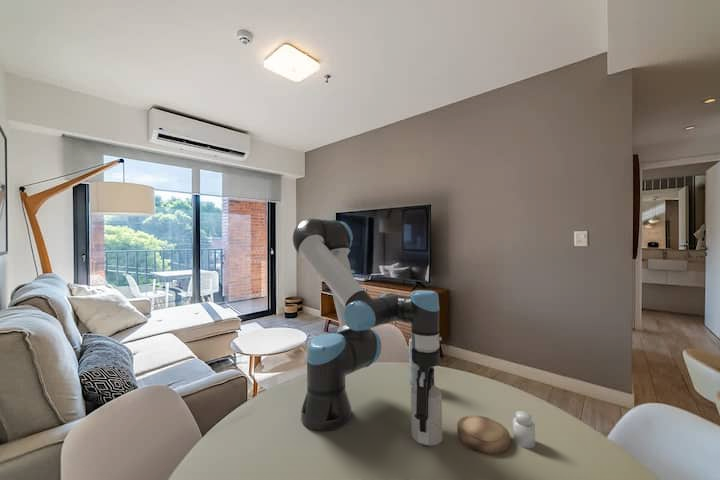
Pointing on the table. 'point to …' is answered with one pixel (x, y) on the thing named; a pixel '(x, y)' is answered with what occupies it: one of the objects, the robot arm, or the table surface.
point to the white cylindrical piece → (433, 415)
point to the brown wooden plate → (483, 434)
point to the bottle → (412, 367)
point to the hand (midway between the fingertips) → (426, 432)
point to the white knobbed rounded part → (524, 430)
